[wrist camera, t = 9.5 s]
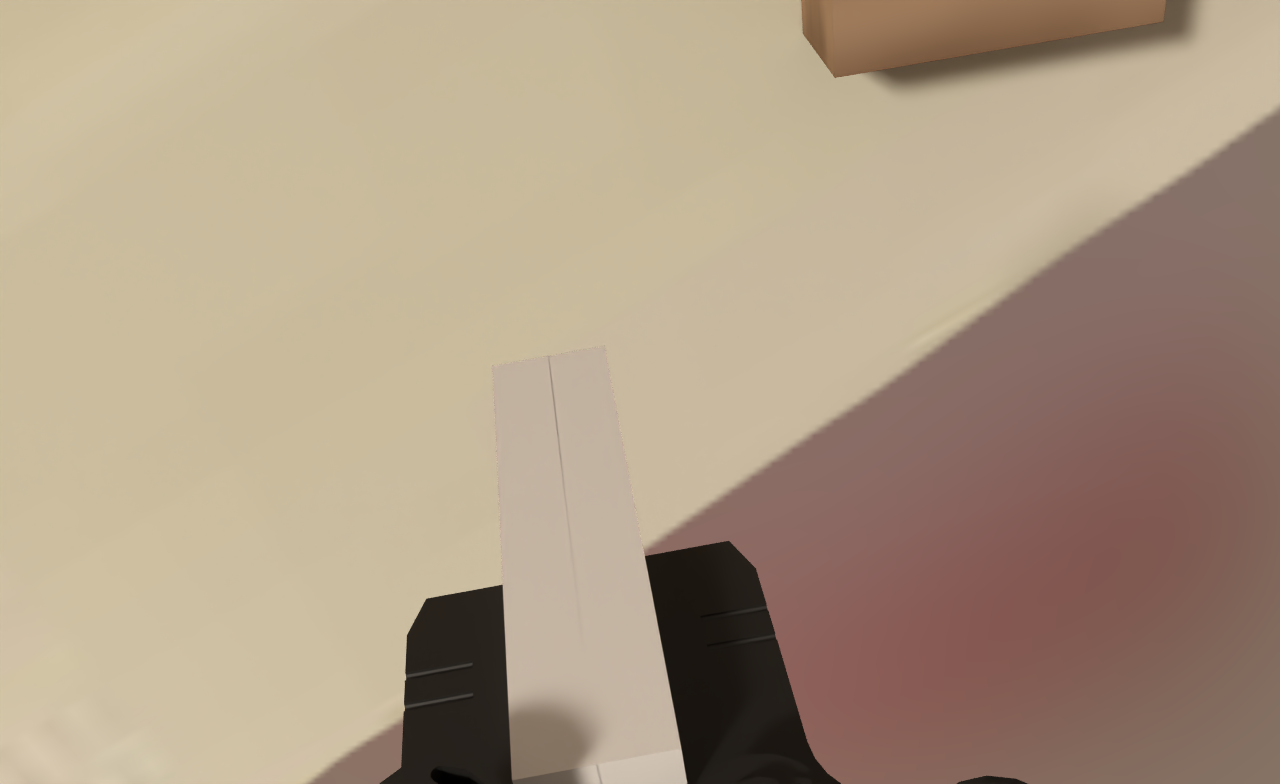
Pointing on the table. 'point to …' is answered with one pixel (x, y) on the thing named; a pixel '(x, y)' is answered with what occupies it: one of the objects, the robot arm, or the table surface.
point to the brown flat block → (953, 27)
